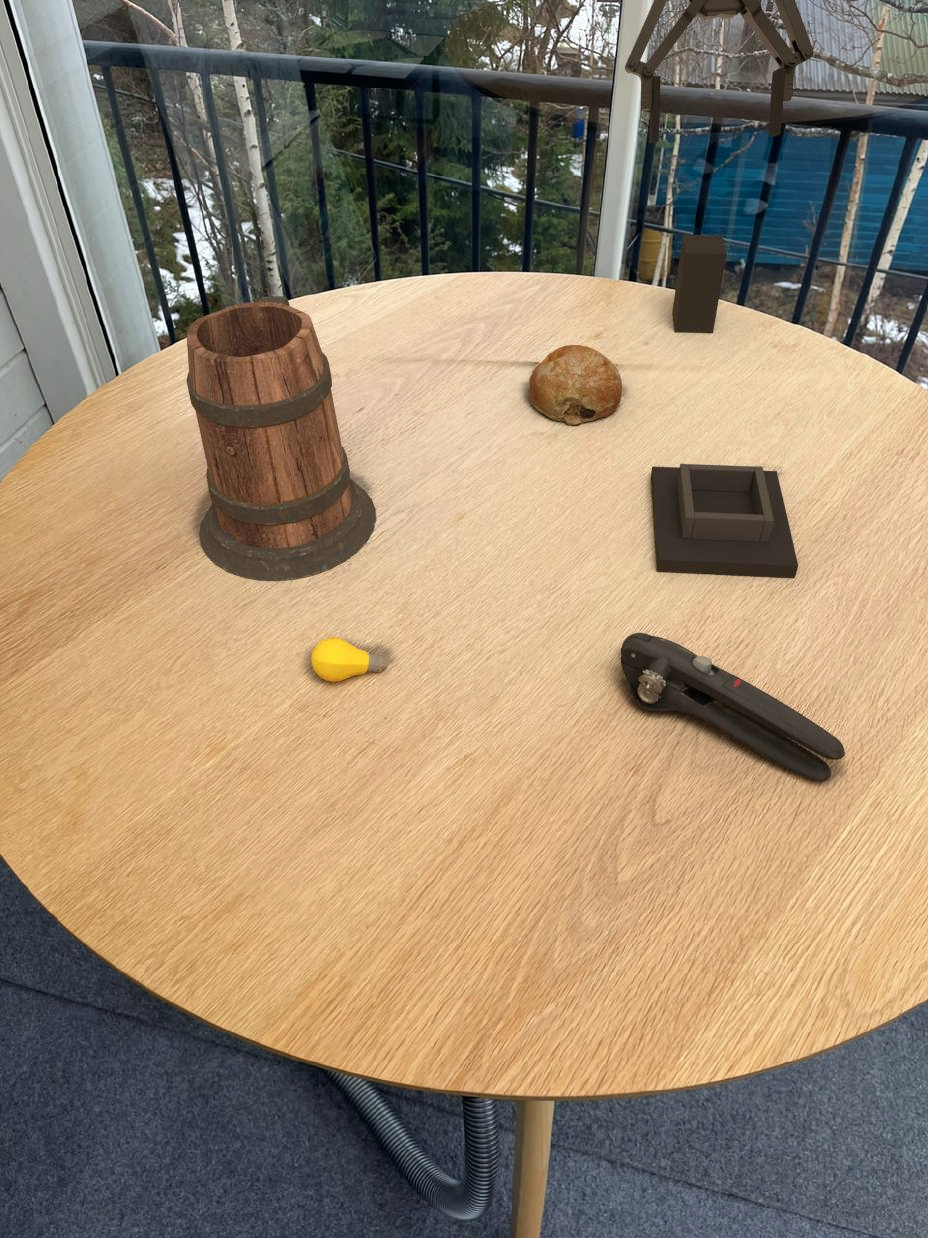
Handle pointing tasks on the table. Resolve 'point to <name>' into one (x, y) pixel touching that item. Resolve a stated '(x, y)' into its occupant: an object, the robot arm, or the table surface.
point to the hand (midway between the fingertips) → (713, 139)
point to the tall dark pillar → (698, 283)
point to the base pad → (721, 521)
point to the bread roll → (575, 385)
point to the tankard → (272, 445)
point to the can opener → (725, 704)
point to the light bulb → (343, 660)
